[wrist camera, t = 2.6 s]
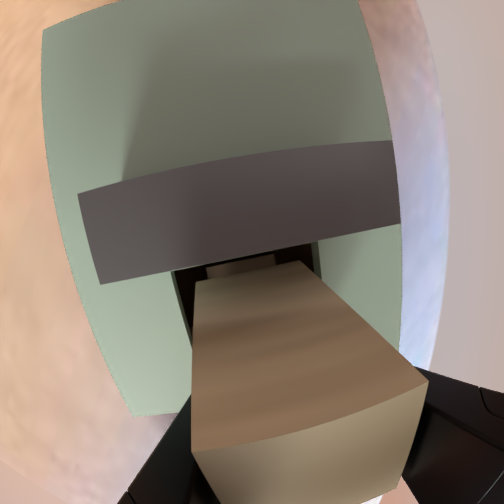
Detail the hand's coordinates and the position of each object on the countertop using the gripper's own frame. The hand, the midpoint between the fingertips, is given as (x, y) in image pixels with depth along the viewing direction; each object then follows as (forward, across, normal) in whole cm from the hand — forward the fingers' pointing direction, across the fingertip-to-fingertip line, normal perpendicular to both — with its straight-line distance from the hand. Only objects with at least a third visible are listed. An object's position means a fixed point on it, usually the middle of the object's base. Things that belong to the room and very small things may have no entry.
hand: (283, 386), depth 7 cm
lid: (+5, 0, -4) cm, 6 cm away
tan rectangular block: (+4, 0, 0) cm, 4 cm away
